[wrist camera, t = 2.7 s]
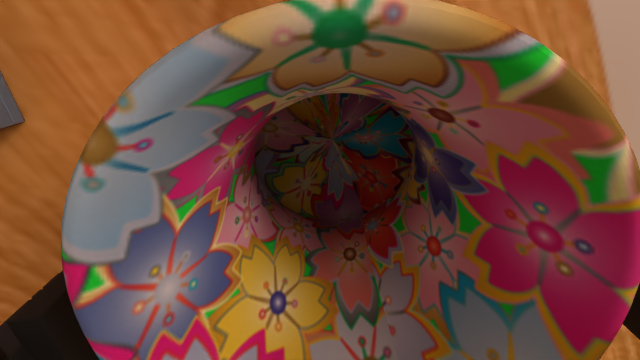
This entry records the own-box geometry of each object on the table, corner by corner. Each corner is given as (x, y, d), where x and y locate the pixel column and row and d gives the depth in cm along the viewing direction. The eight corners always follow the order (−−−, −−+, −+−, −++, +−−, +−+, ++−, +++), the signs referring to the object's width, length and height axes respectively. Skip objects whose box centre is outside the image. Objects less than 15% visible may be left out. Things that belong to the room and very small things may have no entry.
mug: (188, 82, 14) (-91, 181, 5) (395, -20, 13) (628, -194, 3) (307, 287, 19) (291, 564, 9) (473, 229, 17) (672, 483, 7)
